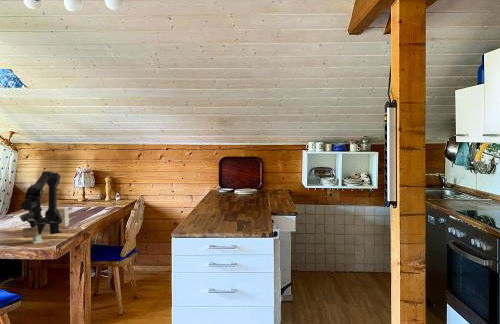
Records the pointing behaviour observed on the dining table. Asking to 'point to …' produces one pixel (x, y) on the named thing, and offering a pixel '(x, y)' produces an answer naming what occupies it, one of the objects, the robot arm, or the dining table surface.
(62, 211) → the supplement box
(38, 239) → the fulcrum
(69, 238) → the dining table surface
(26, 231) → the brown rectangular block
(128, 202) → the dining table surface
